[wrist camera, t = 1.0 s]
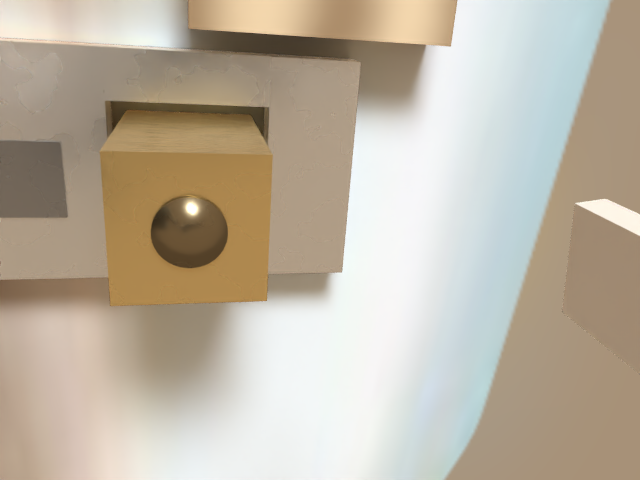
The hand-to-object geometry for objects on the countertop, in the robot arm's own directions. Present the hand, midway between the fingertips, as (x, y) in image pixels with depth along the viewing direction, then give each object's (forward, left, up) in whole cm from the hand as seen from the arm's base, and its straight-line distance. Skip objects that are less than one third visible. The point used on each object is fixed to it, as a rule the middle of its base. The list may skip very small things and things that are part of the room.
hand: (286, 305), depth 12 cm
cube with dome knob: (-2, -2, -19) cm, 20 cm away
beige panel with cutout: (-5, -2, -19) cm, 20 cm away
